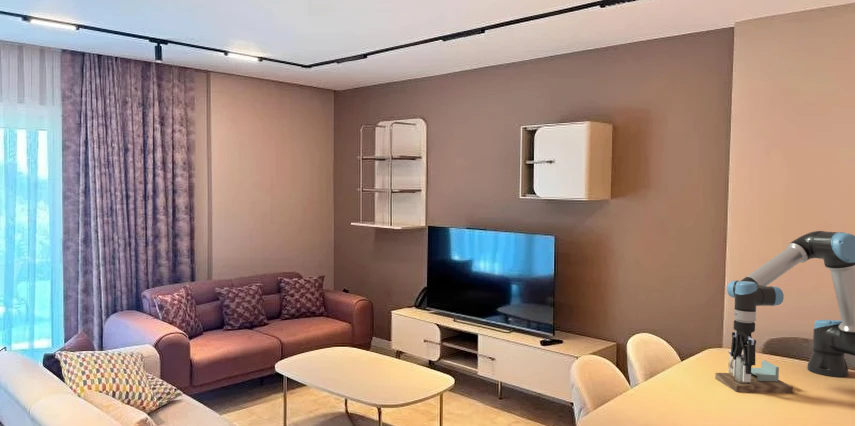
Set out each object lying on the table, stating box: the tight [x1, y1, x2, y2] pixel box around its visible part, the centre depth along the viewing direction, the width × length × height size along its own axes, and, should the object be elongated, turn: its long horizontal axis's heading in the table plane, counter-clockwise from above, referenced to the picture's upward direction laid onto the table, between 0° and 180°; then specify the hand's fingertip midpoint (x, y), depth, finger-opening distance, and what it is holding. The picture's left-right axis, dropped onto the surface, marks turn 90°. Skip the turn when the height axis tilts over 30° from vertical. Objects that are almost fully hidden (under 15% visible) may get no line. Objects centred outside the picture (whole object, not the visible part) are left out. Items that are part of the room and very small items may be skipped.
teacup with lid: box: [727, 349, 744, 373], centre depth 261 cm, size 12×9×12 cm
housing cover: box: [751, 359, 780, 381], centre depth 247 cm, size 8×10×6 cm
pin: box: [735, 356, 748, 384], centre depth 240 cm, size 3×3×13 cm
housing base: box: [714, 372, 794, 395], centre depth 244 cm, size 22×17×4 cm
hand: (741, 378), depth 240 cm, fingers open, 7 cm apart
